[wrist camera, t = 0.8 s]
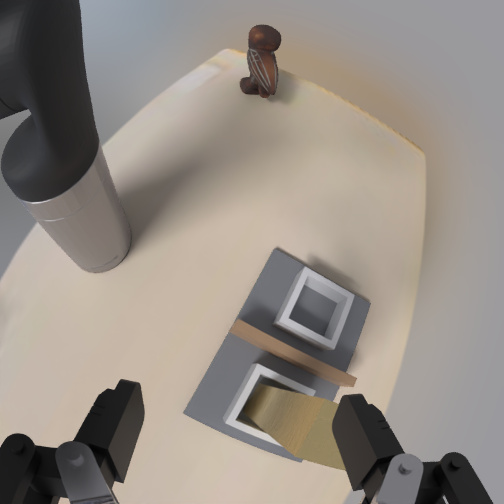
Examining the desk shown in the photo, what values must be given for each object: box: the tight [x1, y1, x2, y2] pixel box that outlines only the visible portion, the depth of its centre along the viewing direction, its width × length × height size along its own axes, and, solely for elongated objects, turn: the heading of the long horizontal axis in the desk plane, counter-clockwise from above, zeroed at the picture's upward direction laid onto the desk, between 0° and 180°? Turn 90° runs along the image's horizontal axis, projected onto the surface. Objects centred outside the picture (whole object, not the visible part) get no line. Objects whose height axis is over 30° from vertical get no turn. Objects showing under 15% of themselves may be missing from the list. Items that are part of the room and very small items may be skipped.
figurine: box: [240, 25, 281, 98], centre depth 45 cm, size 13×6×15 cm, turn 16°
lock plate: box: [183, 248, 371, 462], centre depth 32 cm, size 24×16×4 cm, turn 153°
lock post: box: [244, 384, 346, 471], centre depth 22 cm, size 4×4×18 cm
